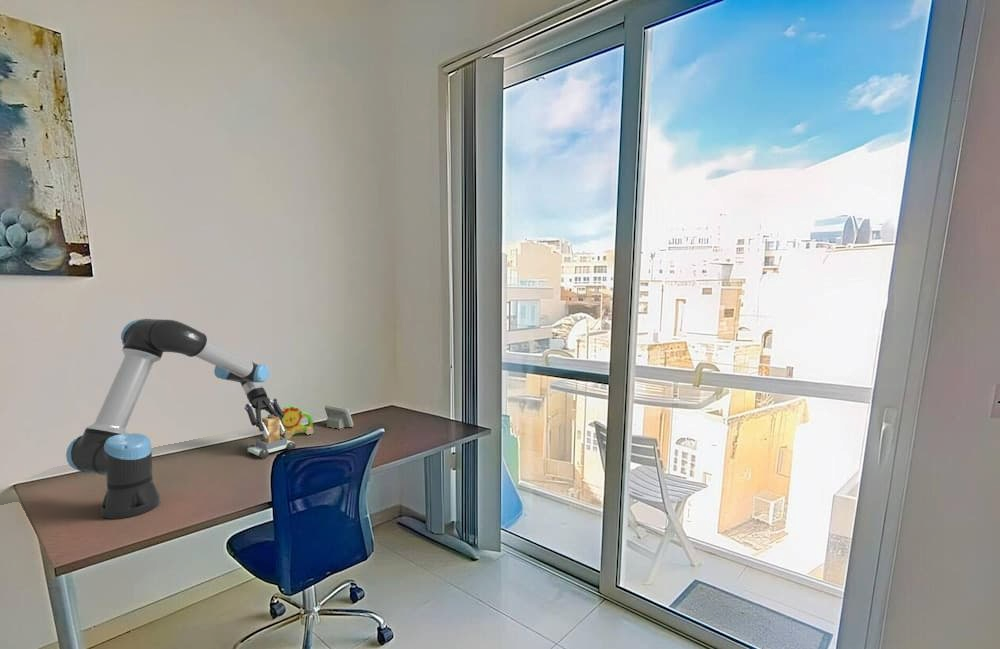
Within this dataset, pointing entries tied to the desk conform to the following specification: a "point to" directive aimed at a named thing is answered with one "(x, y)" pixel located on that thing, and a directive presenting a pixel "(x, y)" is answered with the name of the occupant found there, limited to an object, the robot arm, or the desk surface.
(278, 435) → the tall wooden block
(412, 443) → the desk surface
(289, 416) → the toy lion
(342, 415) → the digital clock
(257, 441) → the chassis
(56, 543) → the desk surface
